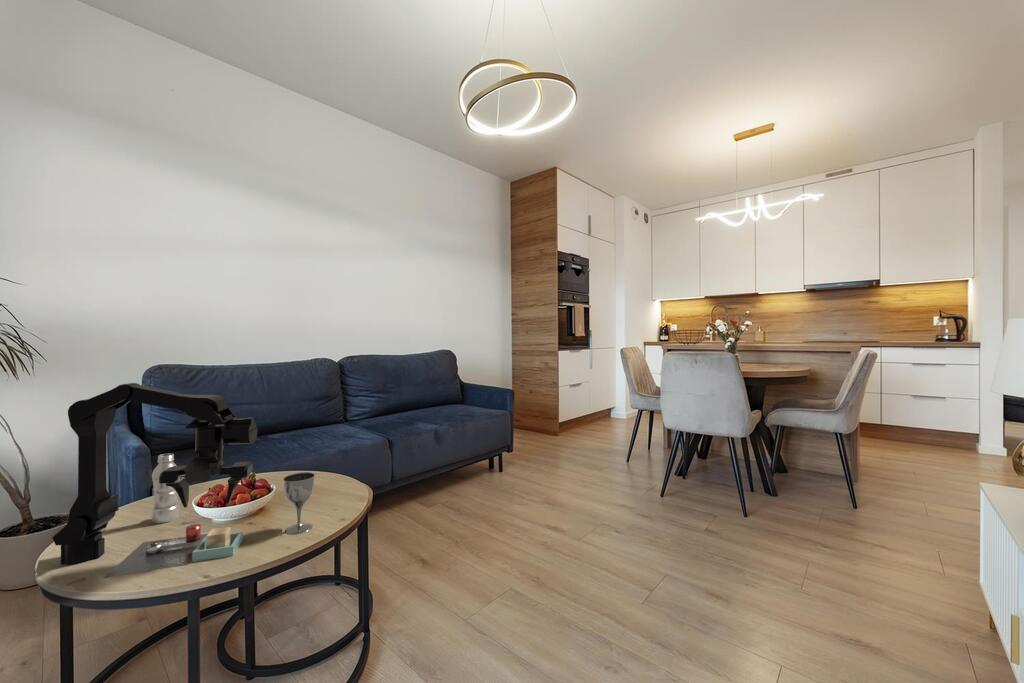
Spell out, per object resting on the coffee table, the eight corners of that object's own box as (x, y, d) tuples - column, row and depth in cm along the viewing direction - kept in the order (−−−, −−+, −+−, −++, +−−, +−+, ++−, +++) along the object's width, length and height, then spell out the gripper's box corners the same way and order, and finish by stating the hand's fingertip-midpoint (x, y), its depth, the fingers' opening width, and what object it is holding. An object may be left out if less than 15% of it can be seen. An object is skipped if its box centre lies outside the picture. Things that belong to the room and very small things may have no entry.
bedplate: (104, 581, 91) (104, 576, 91) (143, 545, 107) (143, 541, 107) (187, 568, 96) (187, 564, 96) (212, 535, 112) (212, 532, 112)
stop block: (206, 556, 100) (206, 536, 100) (211, 548, 104) (212, 529, 104) (225, 553, 101) (225, 533, 101) (230, 545, 105) (230, 526, 105)
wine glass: (283, 537, 111) (284, 483, 111) (282, 526, 118) (282, 475, 118) (315, 530, 115) (316, 478, 115) (312, 520, 122) (312, 470, 122)
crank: (143, 555, 100) (143, 535, 100) (148, 549, 103) (149, 530, 103) (198, 546, 104) (198, 528, 104) (202, 541, 107) (202, 522, 107)
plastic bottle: (175, 515, 125) (175, 450, 125) (182, 521, 121) (183, 454, 121) (147, 523, 120) (148, 455, 120) (154, 529, 116) (155, 459, 116)
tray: (192, 565, 97) (192, 552, 97) (205, 548, 105) (205, 536, 105) (233, 558, 100) (233, 546, 100) (242, 542, 108) (242, 531, 108)
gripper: (148, 455, 94) (146, 522, 94) (241, 450, 100) (239, 513, 100) (170, 444, 104) (169, 504, 104) (254, 440, 111) (252, 497, 110)
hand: (207, 505), depth 104 cm, fingers open, 9 cm apart
